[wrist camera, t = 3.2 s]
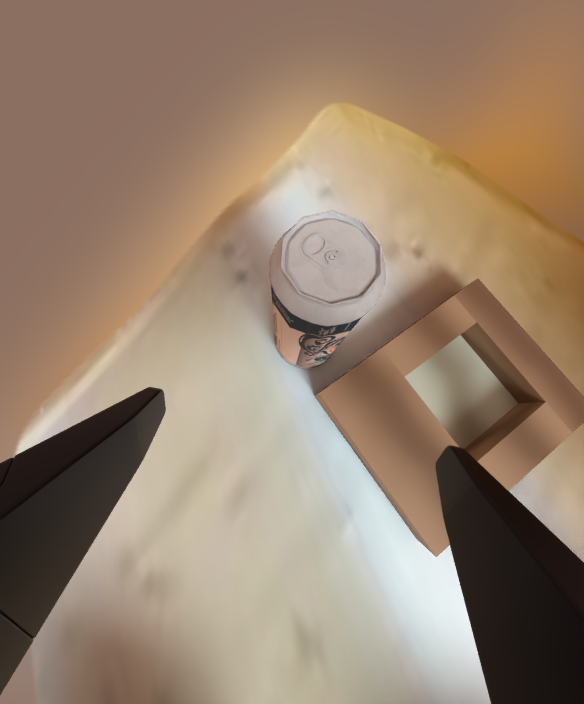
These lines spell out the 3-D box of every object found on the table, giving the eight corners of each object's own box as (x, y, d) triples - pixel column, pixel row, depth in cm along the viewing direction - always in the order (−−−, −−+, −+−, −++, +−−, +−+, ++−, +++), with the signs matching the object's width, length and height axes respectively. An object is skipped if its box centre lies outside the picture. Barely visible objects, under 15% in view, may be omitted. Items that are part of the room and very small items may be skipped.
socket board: (416, 539, 19) (436, 557, 17) (314, 395, 21) (318, 393, 19) (560, 411, 22) (596, 410, 19) (457, 292, 24) (478, 278, 21)
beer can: (310, 382, 21) (345, 343, 10) (262, 343, 22) (241, 263, 10) (346, 335, 22) (419, 249, 11) (300, 299, 23) (320, 179, 11)
